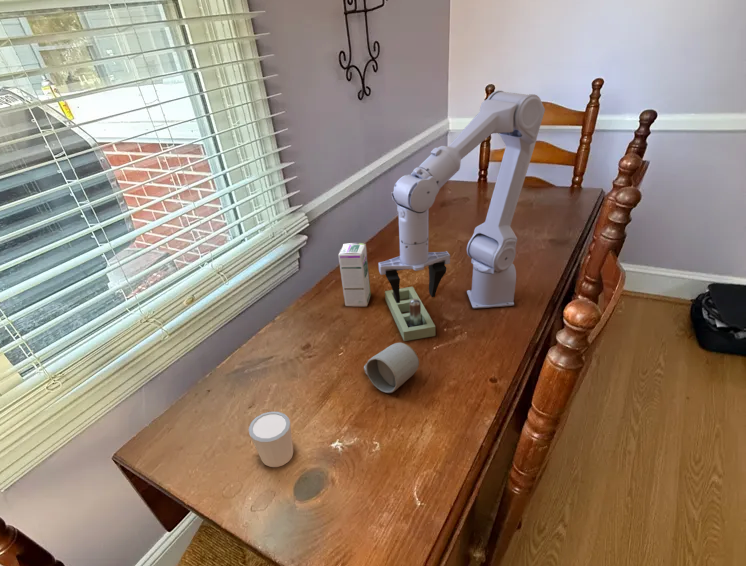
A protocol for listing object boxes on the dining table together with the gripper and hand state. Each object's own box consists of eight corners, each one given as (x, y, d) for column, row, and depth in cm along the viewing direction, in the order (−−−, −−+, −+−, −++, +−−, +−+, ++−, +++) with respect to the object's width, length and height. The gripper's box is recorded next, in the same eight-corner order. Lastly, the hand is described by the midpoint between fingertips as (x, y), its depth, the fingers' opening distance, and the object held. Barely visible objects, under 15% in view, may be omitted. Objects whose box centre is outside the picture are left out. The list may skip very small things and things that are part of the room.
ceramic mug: (422, 376, 94) (421, 345, 89) (397, 399, 89) (395, 367, 85) (380, 358, 100) (377, 328, 96) (355, 379, 96) (351, 348, 91)
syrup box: (367, 307, 117) (363, 252, 108) (344, 306, 118) (337, 253, 110) (371, 295, 121) (366, 242, 113) (348, 294, 123) (342, 242, 114)
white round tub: (258, 441, 84) (249, 413, 80) (296, 436, 84) (290, 408, 80) (256, 472, 79) (246, 444, 75) (297, 467, 79) (290, 438, 75)
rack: (412, 295, 119) (412, 286, 118) (435, 335, 104) (435, 326, 103) (385, 299, 119) (384, 291, 117) (403, 341, 104) (403, 332, 102)
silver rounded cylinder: (422, 324, 108) (422, 294, 103) (424, 333, 105) (424, 302, 101) (406, 326, 108) (406, 295, 104) (408, 334, 106) (407, 304, 101)
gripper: (382, 252, 90) (385, 312, 98) (456, 240, 91) (453, 301, 99) (374, 238, 96) (378, 296, 104) (444, 227, 97) (442, 285, 105)
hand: (414, 297), depth 102 cm, fingers open, 7 cm apart
